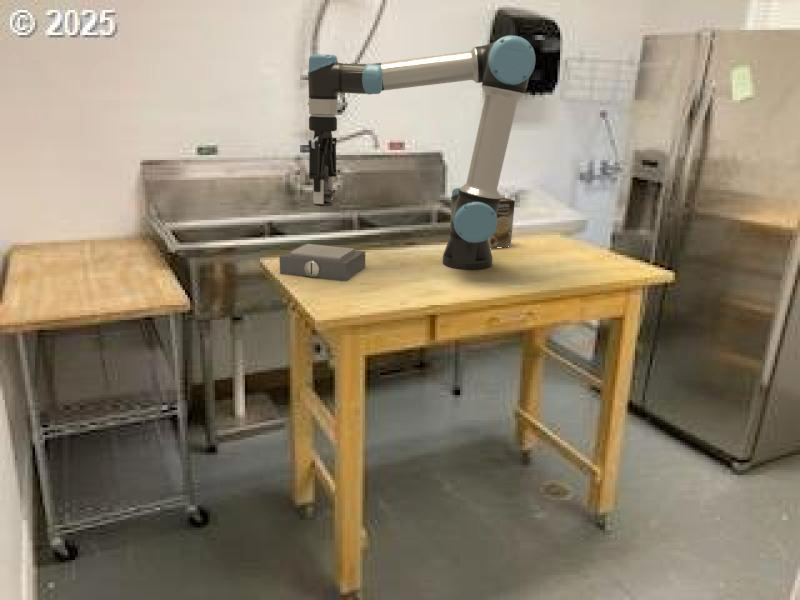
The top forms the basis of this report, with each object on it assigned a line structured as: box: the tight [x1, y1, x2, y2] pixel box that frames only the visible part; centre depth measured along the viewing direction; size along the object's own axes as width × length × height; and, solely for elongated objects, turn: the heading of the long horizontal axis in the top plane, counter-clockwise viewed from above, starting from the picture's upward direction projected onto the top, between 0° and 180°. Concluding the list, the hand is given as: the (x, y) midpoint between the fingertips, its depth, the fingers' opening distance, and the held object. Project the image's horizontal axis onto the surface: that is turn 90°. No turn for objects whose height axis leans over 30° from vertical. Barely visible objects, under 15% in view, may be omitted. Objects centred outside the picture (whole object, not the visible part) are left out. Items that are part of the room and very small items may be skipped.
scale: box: [279, 243, 366, 282], centre depth 192 cm, size 20×16×6 cm
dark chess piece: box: [313, 164, 335, 207], centre depth 185 cm, size 6×6×12 cm
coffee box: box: [488, 197, 516, 248], centre depth 225 cm, size 9×6×16 cm
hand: (323, 201), depth 187 cm, fingers closed on dark chess piece, 6 cm apart
